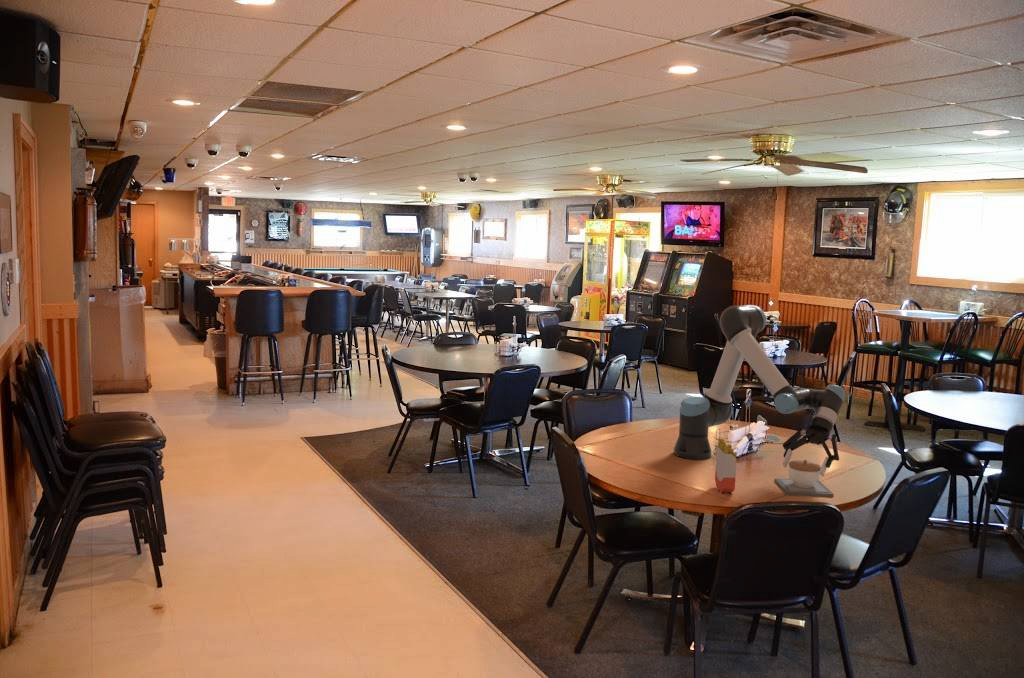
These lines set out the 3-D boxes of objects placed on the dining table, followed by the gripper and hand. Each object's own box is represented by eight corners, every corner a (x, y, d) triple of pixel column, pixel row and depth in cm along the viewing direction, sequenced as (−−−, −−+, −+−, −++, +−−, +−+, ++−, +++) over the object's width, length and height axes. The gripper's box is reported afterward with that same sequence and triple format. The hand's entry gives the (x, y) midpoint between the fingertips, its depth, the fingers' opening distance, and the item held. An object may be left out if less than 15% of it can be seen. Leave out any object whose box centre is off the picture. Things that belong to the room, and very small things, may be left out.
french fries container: (727, 485, 280) (729, 437, 278) (735, 495, 269) (738, 445, 267) (714, 485, 280) (717, 437, 278) (722, 495, 269) (725, 444, 267)
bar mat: (786, 494, 271) (786, 491, 271) (774, 480, 287) (774, 477, 287) (833, 496, 270) (833, 493, 270) (818, 482, 286) (818, 479, 286)
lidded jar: (822, 491, 272) (824, 465, 271) (791, 489, 274) (793, 463, 273) (814, 481, 283) (816, 456, 282) (784, 480, 284) (786, 455, 283)
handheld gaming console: (783, 443, 342) (785, 421, 341) (763, 443, 343) (764, 421, 341) (775, 436, 355) (776, 415, 354) (754, 435, 356) (756, 414, 354)
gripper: (859, 434, 279) (840, 483, 270) (792, 422, 296) (772, 467, 287) (855, 422, 274) (835, 471, 265) (787, 410, 291) (766, 456, 283)
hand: (802, 469), depth 276 cm, fingers open, 13 cm apart
